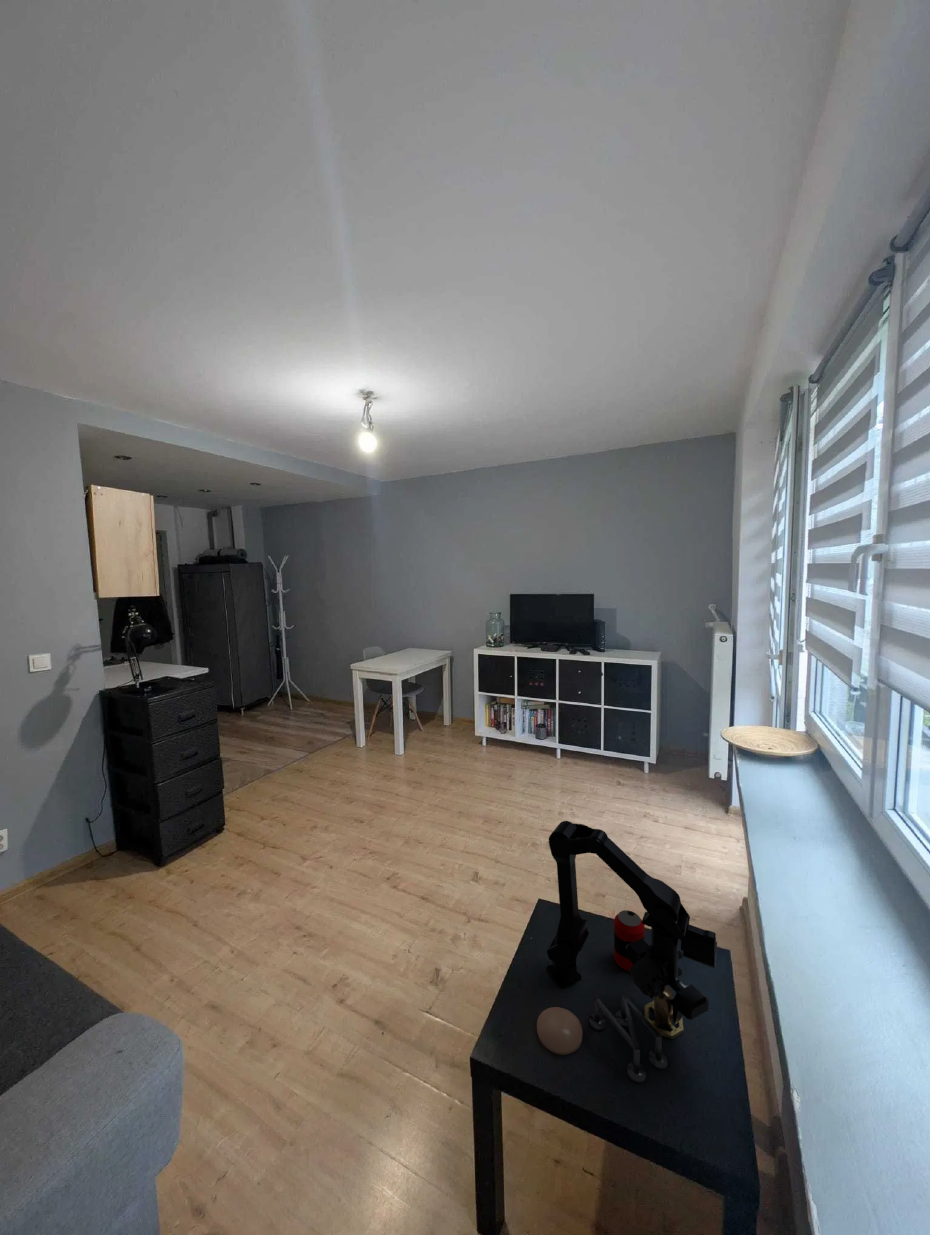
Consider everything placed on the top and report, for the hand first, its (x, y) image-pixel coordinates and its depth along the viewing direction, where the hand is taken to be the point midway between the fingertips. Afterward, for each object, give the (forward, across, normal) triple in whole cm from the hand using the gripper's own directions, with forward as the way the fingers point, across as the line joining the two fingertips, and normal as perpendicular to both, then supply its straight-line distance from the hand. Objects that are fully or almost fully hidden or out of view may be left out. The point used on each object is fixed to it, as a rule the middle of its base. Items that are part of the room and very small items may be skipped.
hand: (663, 1009), depth 106 cm
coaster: (+3, -8, -23) cm, 24 cm away
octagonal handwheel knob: (+3, 0, 0) cm, 3 cm away
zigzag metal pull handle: (+3, 0, -11) cm, 11 cm away
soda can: (+3, -16, +5) cm, 17 cm away
